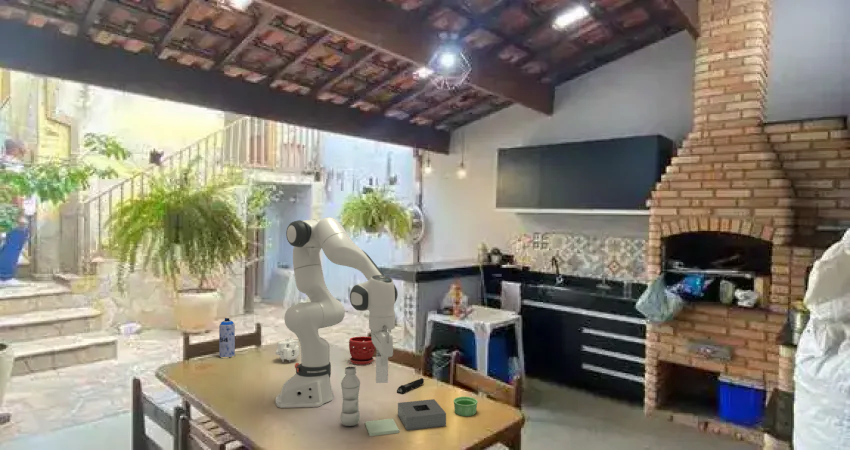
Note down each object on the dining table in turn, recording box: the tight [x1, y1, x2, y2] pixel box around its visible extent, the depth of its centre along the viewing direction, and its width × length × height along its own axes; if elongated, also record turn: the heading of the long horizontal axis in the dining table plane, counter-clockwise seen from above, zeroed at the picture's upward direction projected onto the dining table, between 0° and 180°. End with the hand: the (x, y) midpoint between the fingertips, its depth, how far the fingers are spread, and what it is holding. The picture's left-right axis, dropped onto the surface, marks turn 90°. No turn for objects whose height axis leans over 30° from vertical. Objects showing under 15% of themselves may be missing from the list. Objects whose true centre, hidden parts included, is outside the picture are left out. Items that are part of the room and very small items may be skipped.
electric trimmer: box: [396, 377, 425, 395], centre depth 213 cm, size 4×16×3 cm, turn 142°
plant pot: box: [348, 336, 376, 366], centre depth 251 cm, size 13×13×12 cm
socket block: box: [397, 398, 447, 432], centre depth 180 cm, size 14×14×4 cm
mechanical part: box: [275, 336, 301, 363], centre depth 253 cm, size 11×12×12 cm
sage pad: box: [364, 417, 400, 437], centre depth 173 cm, size 10×10×1 cm
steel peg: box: [375, 352, 389, 384], centre depth 173 cm, size 4×4×9 cm
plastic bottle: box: [340, 366, 361, 427], centre depth 176 cm, size 6×7×20 cm
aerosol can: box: [218, 317, 236, 358], centre depth 261 cm, size 8×8×20 cm
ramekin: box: [453, 396, 479, 417], centre depth 188 cm, size 9×9×4 cm
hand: (381, 363), depth 173 cm, fingers closed on steel peg, 4 cm apart
